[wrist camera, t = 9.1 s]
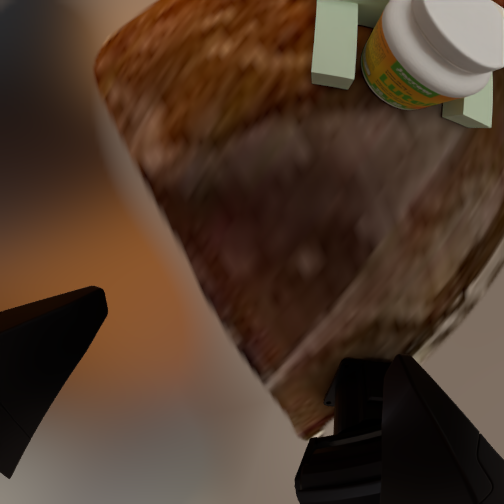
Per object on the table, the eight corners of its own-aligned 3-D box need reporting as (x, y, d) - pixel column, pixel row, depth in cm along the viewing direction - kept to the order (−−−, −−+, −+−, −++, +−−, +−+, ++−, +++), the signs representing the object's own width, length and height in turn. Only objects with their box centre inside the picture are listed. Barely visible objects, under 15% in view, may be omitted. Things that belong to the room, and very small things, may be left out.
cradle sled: (468, 128, 12) (515, 129, 8) (311, 83, 14) (309, 58, 9) (469, 41, 10) (508, 20, 5) (318, -5, 11) (316, -50, 6)
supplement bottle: (355, 98, 14) (403, 49, 5) (361, 27, 12) (395, -59, 3) (433, 121, 13) (530, 114, 4) (436, 51, 11) (515, 2, 2)
